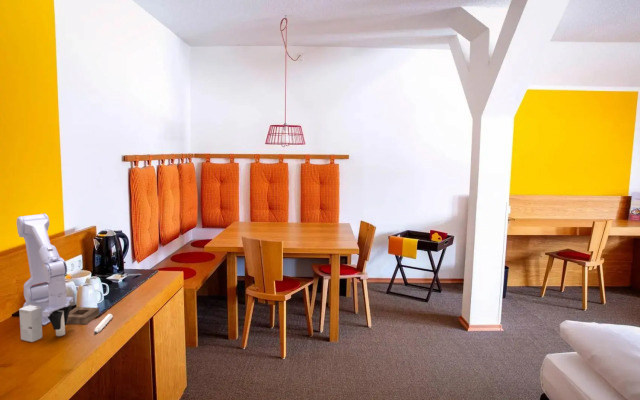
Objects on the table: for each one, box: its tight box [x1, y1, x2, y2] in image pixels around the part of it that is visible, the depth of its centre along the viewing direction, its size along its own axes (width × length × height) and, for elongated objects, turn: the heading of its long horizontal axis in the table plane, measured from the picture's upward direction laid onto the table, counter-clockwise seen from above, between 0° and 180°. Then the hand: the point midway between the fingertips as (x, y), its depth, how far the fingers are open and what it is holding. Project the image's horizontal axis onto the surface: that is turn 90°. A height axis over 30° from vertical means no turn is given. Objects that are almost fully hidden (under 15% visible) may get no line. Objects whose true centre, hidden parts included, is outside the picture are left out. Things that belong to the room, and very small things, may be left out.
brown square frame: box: [66, 306, 100, 326], centre depth 177 cm, size 10×10×3 cm
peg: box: [55, 310, 66, 337], centre depth 162 cm, size 3×3×9 cm
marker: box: [93, 313, 114, 334], centre depth 171 cm, size 3×2×16 cm
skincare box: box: [18, 305, 43, 343], centre depth 159 cm, size 6×4×12 cm
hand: (60, 327), depth 162 cm, fingers closed on peg, 3 cm apart
